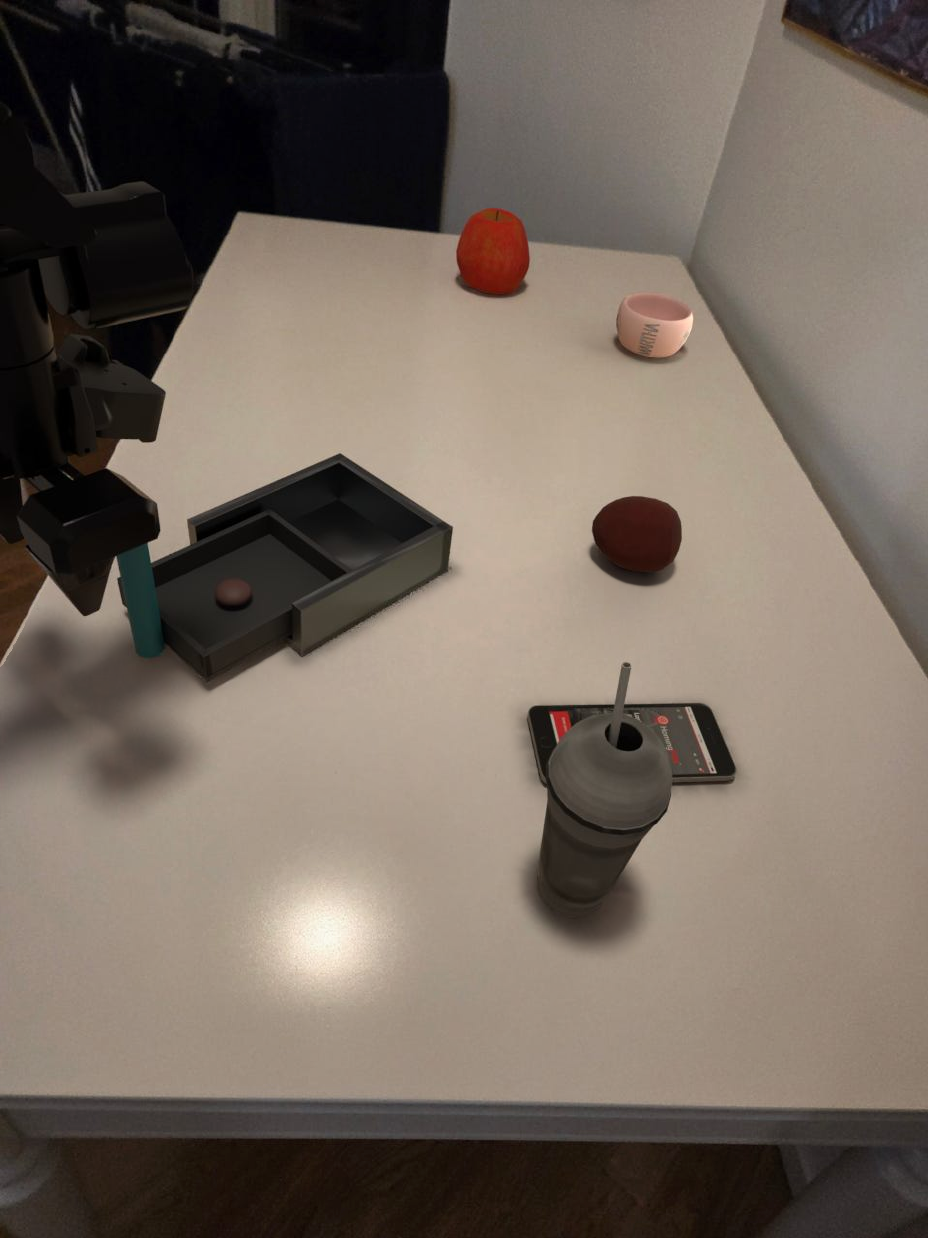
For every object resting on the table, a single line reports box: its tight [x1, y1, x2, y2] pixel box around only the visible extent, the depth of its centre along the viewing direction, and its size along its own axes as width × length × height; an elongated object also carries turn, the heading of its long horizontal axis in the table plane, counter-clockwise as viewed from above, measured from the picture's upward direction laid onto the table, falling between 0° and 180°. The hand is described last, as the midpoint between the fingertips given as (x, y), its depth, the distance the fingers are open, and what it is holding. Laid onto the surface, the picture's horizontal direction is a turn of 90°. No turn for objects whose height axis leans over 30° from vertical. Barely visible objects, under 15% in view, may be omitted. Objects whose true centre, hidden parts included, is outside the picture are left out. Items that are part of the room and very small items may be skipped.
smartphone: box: [526, 702, 738, 785], centre depth 67 cm, size 7×1×15 cm
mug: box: [615, 291, 694, 359], centre depth 119 cm, size 12×10×6 cm
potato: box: [591, 495, 683, 573], centre depth 83 cm, size 7×8×7 cm
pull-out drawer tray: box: [186, 452, 454, 657], centre depth 78 cm, size 17×15×5 cm
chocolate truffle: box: [215, 579, 252, 607], centre depth 72 cm, size 3×3×2 cm
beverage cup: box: [536, 661, 673, 919], centre depth 52 cm, size 7×7×20 cm
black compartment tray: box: [115, 509, 352, 683], centre depth 69 cm, size 17×12×13 cm
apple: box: [455, 207, 531, 295], centre depth 127 cm, size 11×11×11 cm
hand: (52, 575), depth 57 cm, fingers open, 9 cm apart
